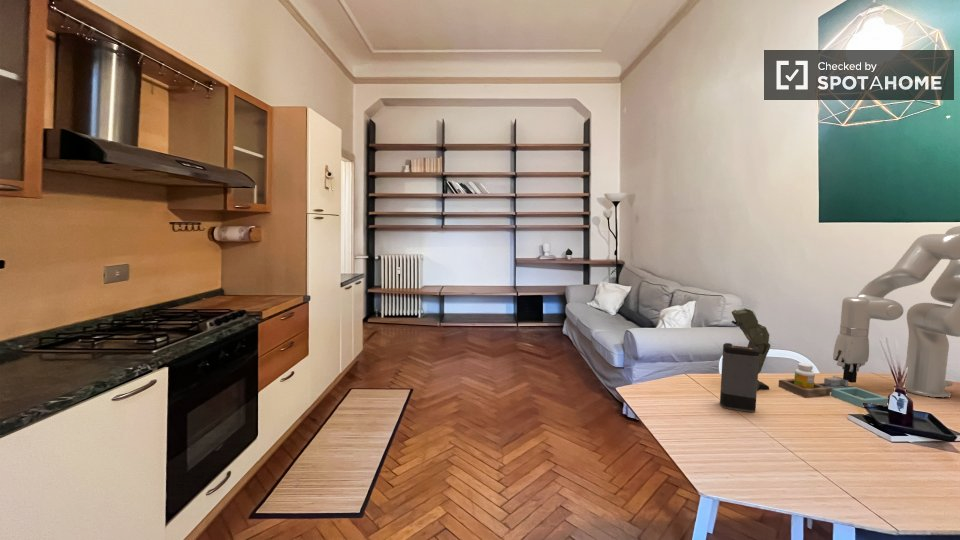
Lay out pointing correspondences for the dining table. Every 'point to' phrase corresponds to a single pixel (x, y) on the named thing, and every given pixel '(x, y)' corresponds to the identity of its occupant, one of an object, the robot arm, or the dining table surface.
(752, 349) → the electronic device
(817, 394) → the socket block
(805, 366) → the supplement bottle
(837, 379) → the grey stepped block
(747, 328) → the mechanical leg
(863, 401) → the green square tray
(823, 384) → the guide
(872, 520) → the dining table surface
